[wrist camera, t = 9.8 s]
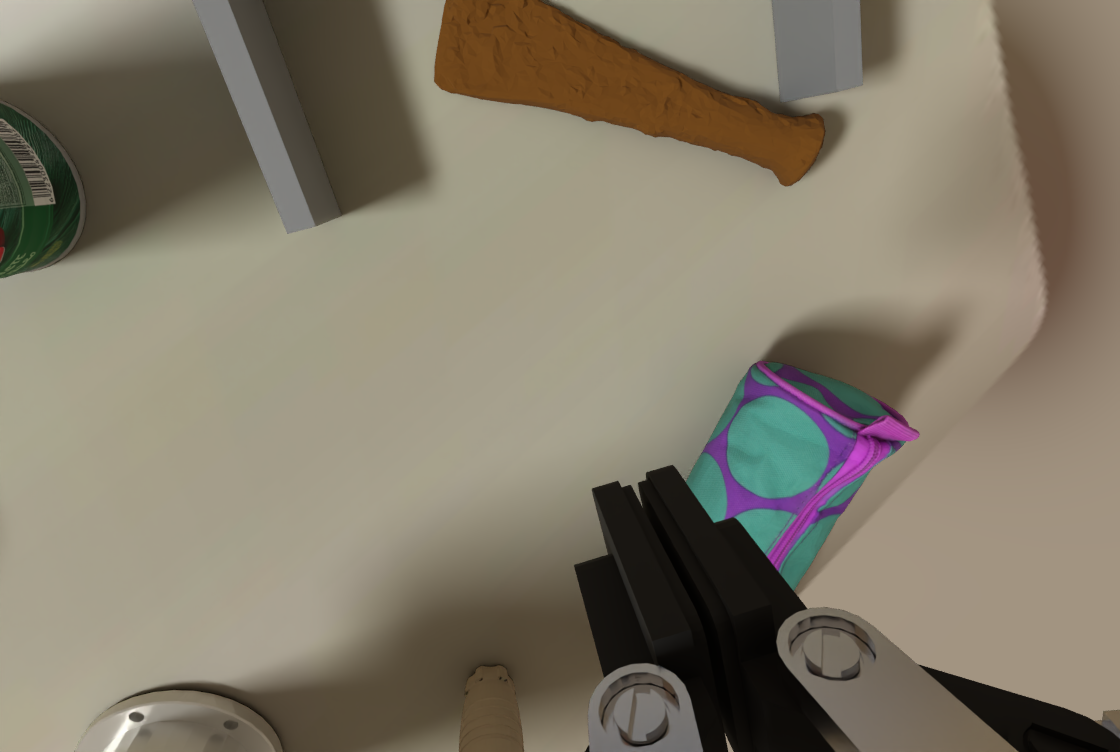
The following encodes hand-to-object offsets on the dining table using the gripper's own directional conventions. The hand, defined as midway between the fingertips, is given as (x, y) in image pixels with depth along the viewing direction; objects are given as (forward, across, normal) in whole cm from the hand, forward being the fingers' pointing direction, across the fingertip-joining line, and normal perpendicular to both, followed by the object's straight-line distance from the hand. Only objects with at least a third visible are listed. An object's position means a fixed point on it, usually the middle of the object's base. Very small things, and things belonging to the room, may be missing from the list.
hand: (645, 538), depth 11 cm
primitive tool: (+22, -7, -9) cm, 25 cm away
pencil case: (+22, -8, +16) cm, 28 cm away
